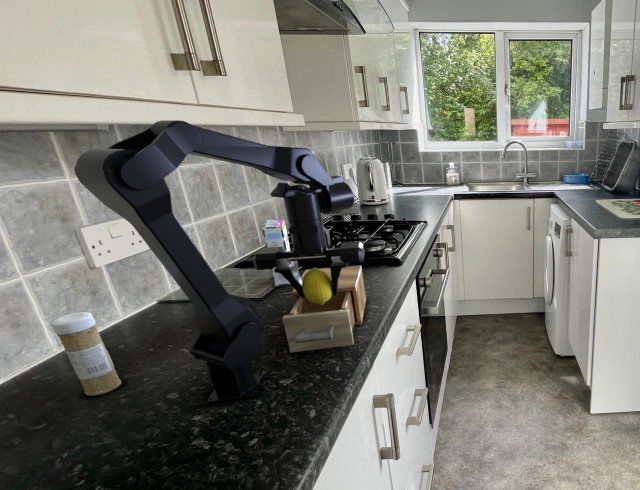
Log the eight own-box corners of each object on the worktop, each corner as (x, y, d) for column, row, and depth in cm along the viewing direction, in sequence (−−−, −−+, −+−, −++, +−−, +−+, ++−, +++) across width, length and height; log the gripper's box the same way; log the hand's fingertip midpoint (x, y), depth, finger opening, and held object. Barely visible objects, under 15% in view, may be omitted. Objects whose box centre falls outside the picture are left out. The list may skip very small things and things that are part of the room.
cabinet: (361, 324, 90) (355, 286, 87) (299, 331, 87) (291, 292, 84) (366, 299, 103) (361, 265, 100) (312, 304, 101) (305, 269, 97)
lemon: (325, 312, 79) (317, 273, 76) (300, 309, 80) (292, 271, 77) (341, 300, 84) (335, 264, 81) (318, 298, 85) (310, 262, 82)
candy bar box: (295, 284, 113) (282, 226, 107) (274, 287, 111) (260, 228, 105) (296, 272, 122) (284, 217, 116) (277, 274, 120) (264, 219, 114)
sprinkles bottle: (122, 377, 72) (92, 308, 67) (121, 389, 68) (89, 318, 63) (86, 387, 69) (52, 316, 64) (83, 400, 66) (47, 326, 61)
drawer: (351, 356, 76) (345, 321, 74) (284, 365, 74) (275, 329, 71) (359, 315, 92) (354, 286, 90) (304, 321, 90) (298, 291, 87)
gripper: (361, 208, 85) (371, 278, 91) (262, 213, 81) (279, 286, 87) (356, 219, 75) (367, 297, 81) (243, 225, 71) (263, 307, 77)
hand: (319, 296), depth 82 cm, fingers closed on lemon, 5 cm apart
